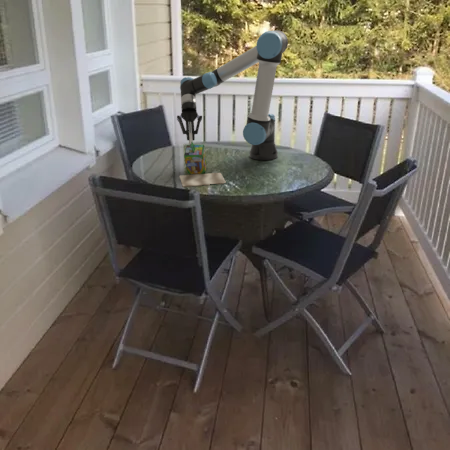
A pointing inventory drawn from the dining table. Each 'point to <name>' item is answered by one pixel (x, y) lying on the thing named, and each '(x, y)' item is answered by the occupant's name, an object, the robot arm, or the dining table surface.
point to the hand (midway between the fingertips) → (191, 145)
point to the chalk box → (195, 159)
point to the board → (202, 179)
